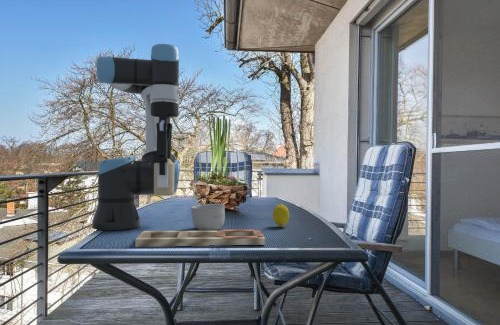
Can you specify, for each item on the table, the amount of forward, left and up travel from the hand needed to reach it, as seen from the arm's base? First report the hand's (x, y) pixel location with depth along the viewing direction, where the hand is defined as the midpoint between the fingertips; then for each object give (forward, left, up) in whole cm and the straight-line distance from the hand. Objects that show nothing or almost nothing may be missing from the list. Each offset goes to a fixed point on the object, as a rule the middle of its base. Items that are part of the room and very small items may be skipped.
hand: (164, 186), depth 113 cm
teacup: (-7, +23, -16) cm, 28 cm away
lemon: (+7, +43, -16) cm, 46 cm away
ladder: (+7, +8, -15) cm, 19 cm away
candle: (0, 0, -3) cm, 3 cm away
